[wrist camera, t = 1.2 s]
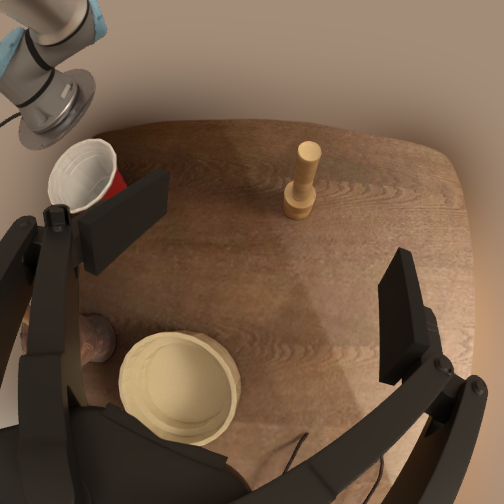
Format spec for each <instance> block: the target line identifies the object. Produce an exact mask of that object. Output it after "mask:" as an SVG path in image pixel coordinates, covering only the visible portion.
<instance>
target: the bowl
mask: <svg viewBox="0 0 504 504" xmlns="http://www.w3.org/2000/svg"><path fill="white" fill-rule="evenodd" d="M118 383H119V391H120V397H121V400H122V403H123V405H124V408H125V410H126V412H127V413H129V414H131V415H132V416H134V417H136V418H137V419H138V420H139V421H140V422H142V423H143V424H144V425H145V426H146V427H148V428H149V429H150V430H151V431H152V432H154V433H155V434H156V435H157V436H159V437H160V438H162V439H165V440H170V441H175V442H180V443H185V444H191V445H197V446H201V445H205V444H207V443H209V442H211V441H213V440H215V439H216V438H218V437H219V436H220V435H221V434H222V433H223V432H224V431H225V430H226V429H227V428H228V426H229V424H230V422H231V420H232V419H233V417H234V414H235V412H236V409H237V406H238V404H239V399H240V395H241V379H240V374H239V371H238V369H237V366H236V363H235V361H234V360H233V358H232V357H231V356H230V354H229V353H228V351H227V350H226V349H225V348H224V347H223V346H222V345H220V344H219V343H218V342H217V341H216V340H214V339H212V338H210V337H209V336H207V335H205V334H203V333H199V332H195V331H191V330H173V331H166V332H160V333H157V334H154V335H150V336H147V337H145V338H144V339H142V340H141V341H139V342H138V343H136V344H135V345H134V346H133V347H132V348H131V350H130V351H129V352H128V353H127V354H126V356H125V358H124V361H123V363H122V365H121V368H120V374H119V382H118Z"/></svg>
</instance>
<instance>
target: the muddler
mask: <svg viewBox="0 0 504 504" xmlns="http://www.w3.org/2000/svg"><path fill="white" fill-rule="evenodd" d="M320 156H321V149H320V147H319V146H318V145H317V144H316V143H314V142H311V141H306V142H303V143H302V144H300V146H299V148H298V153H297V160H296V167H295V174H294V180H293V181H292V182H290V183H289V184H288V185H287V186H286V188H285V192H284V203H283V209H284V212H285V214H286V215H287V216H288V217H289V218H291V219H294V220H302V219H304V218H306V217H307V216H308V215H309V214H310V212H311V209H312V206H313V204H314V201H315V198H316V192H315V189H314V187H313V186H312V183H313V180H314V176H315V173H316V170H317V166H318V163H319V159H320Z"/></svg>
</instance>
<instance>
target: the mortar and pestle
mask: <svg viewBox="0 0 504 504" xmlns="http://www.w3.org/2000/svg"><path fill="white" fill-rule="evenodd" d="M30 308H31V306H30V305H28V307H27V310H26V312H25V315H24V317H23V320H22V321H23V323H22V329H21V334H20V335H21V336H20V337H21V346H22V350H23V353H24V355H26V351H27V338H28V326H29V317H30ZM79 333H80V351H81V365H82V367H83V366H84V365H86V364H87V363H88V362H89V361H92V362H103V361H106V360H107V359H108V358H109V357H110V356H111V355H112V353H113V352H114V350H115V346H116V335H115V331H114V329H113V327H112V326H111V324H110V323H109V321H108V320H107V319H106V318H105V317H104V316H102V315H99V314H91V315H88V316H86V317H84V316H82V315H81V314H79Z"/></svg>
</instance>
